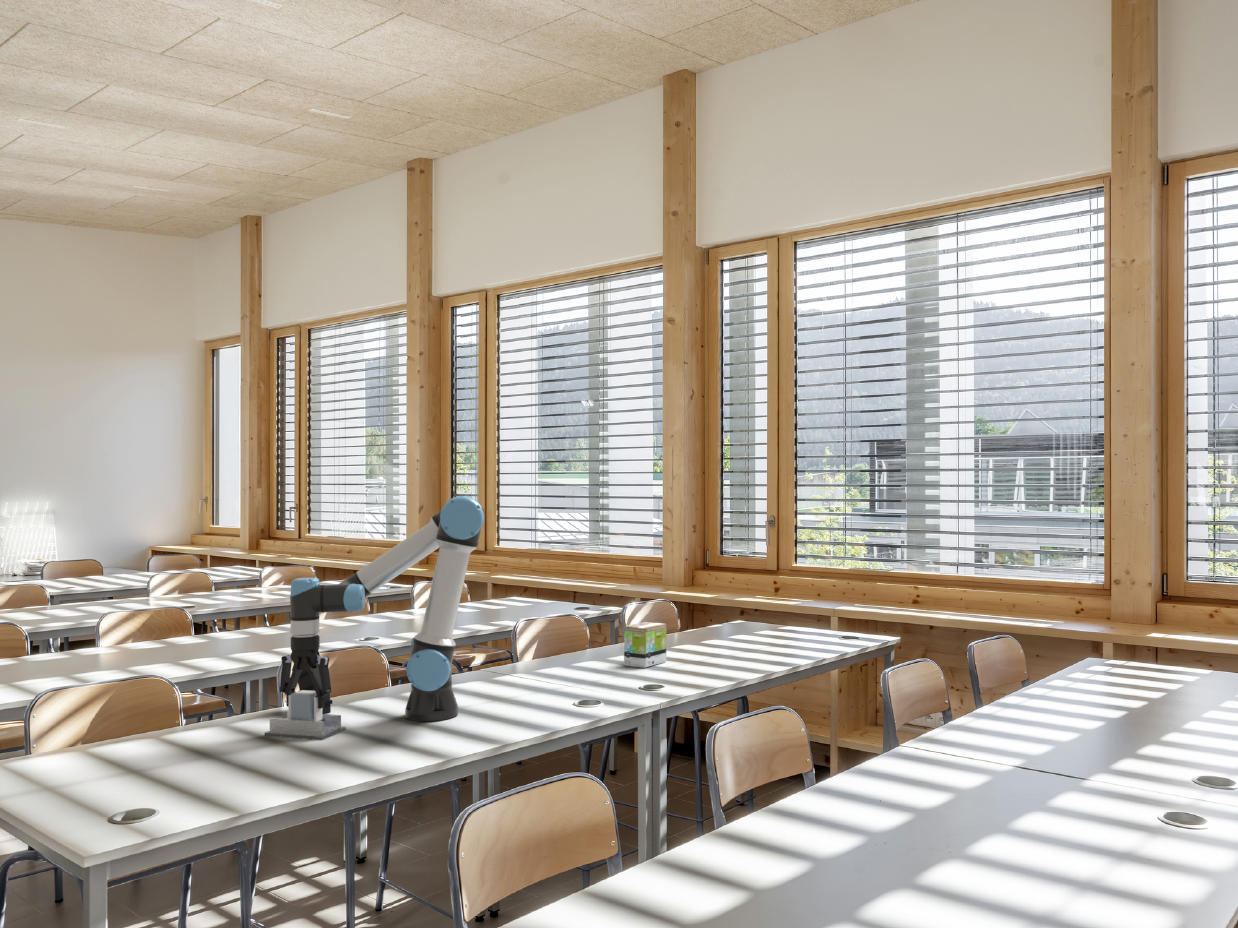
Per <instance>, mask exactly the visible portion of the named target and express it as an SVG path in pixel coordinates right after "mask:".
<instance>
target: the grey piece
mask: <svg viewBox="0 0 1238 928" xmlns="http://www.w3.org/2000/svg"><path fill="white" fill-rule="evenodd" d="M346 730H347V727H346V726H342V715H341V714H332V713H326V714H322V720H320V721H311V720H296V719H289V711H287V712H286V718H280V717H278V718H277V717H270V718H269V731H265V732H264V735H266V736H265V737H275V736H282V737H281V738H289V737H292V738H291V739H302V738H309V739H308V740H315V741H316V740H317V741H323V740H325V738H326V739H328V738H330V737H333V736H335V735H338V734H340V733H341V732H344V731H346Z"/></svg>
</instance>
